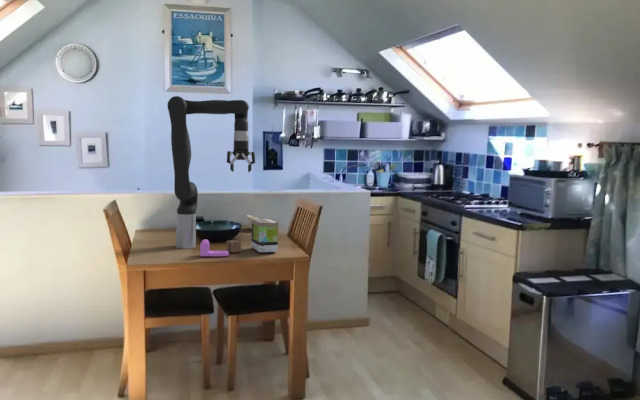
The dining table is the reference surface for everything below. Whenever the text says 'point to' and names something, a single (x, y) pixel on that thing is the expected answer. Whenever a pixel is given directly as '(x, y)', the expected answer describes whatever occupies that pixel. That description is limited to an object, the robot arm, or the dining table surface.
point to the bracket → (205, 251)
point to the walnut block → (233, 246)
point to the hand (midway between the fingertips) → (240, 171)
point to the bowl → (251, 220)
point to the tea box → (264, 235)
